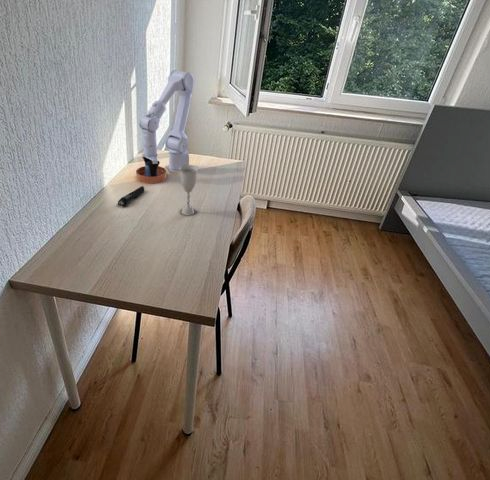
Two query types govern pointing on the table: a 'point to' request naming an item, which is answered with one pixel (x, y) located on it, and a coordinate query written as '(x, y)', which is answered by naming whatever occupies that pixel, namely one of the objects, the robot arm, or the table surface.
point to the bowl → (159, 178)
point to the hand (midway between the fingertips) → (151, 173)
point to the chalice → (188, 185)
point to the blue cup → (148, 171)
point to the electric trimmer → (130, 196)
